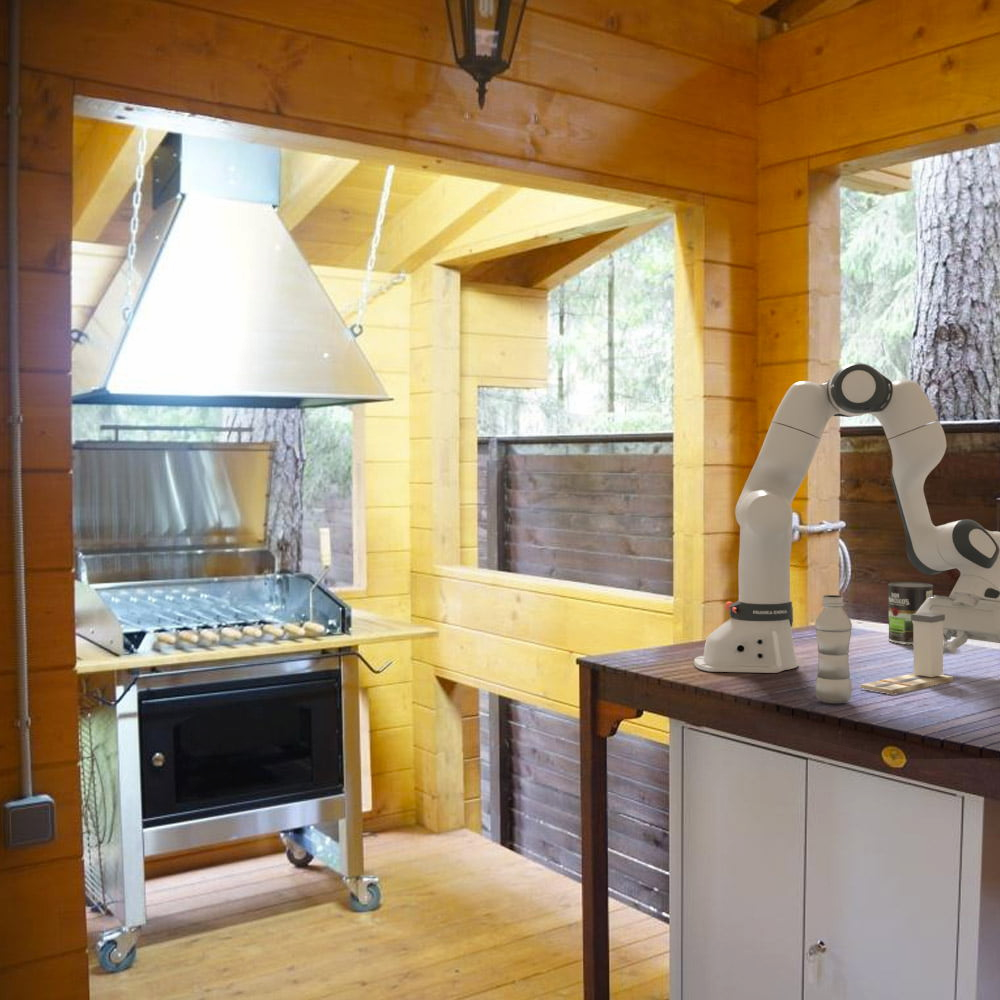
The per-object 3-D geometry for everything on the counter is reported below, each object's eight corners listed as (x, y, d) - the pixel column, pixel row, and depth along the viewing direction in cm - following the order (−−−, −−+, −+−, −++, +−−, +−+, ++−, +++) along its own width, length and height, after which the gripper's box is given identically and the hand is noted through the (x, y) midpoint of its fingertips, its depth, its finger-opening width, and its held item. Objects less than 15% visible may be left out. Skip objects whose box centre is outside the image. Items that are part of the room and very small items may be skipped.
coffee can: (910, 646, 266) (910, 587, 265) (879, 640, 275) (878, 583, 274) (942, 642, 270) (942, 584, 269) (910, 637, 279) (910, 581, 279)
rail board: (922, 676, 230) (922, 670, 230) (952, 681, 225) (952, 675, 225) (860, 689, 219) (860, 683, 219) (891, 695, 213) (891, 689, 213)
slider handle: (925, 671, 229) (924, 612, 229) (945, 674, 225) (944, 614, 225) (911, 674, 226) (911, 614, 226) (931, 677, 223) (931, 616, 222)
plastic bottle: (823, 697, 212) (822, 593, 212) (858, 702, 208) (857, 595, 207) (809, 703, 207) (808, 596, 207) (844, 708, 203) (843, 599, 202)
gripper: (922, 585, 242) (895, 635, 236) (1012, 593, 225) (985, 647, 220) (935, 604, 244) (908, 653, 239) (1024, 613, 228) (998, 667, 222)
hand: (945, 650), depth 229 cm, fingers closed
